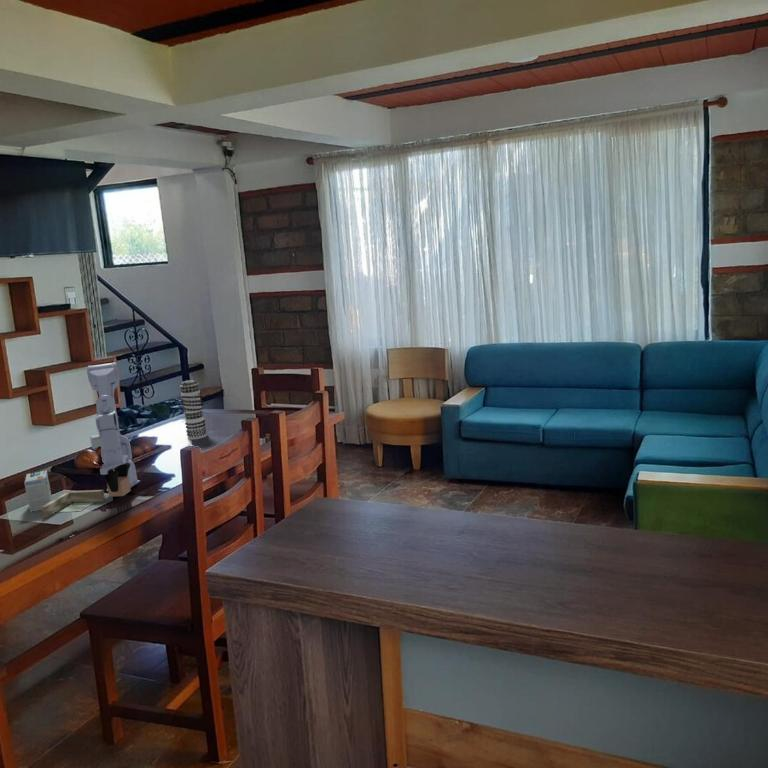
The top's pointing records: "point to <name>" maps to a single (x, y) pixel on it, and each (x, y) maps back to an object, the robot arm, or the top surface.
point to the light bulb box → (37, 490)
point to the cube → (121, 487)
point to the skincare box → (95, 441)
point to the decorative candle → (193, 409)
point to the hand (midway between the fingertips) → (119, 488)
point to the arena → (73, 497)
